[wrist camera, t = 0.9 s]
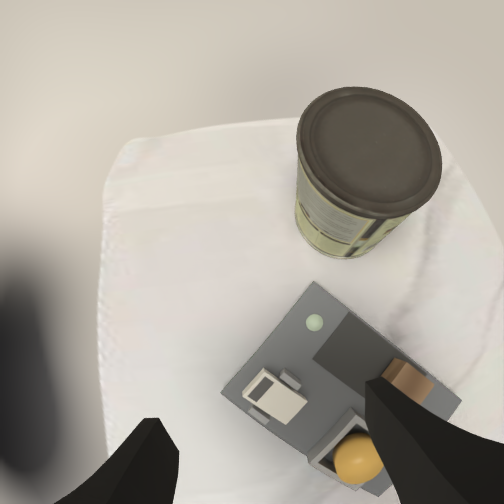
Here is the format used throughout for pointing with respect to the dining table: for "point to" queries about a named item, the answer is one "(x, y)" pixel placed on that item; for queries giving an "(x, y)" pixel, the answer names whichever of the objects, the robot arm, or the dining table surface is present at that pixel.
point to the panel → (328, 379)
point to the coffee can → (361, 169)
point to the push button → (356, 459)
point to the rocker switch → (274, 396)
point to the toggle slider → (408, 380)
